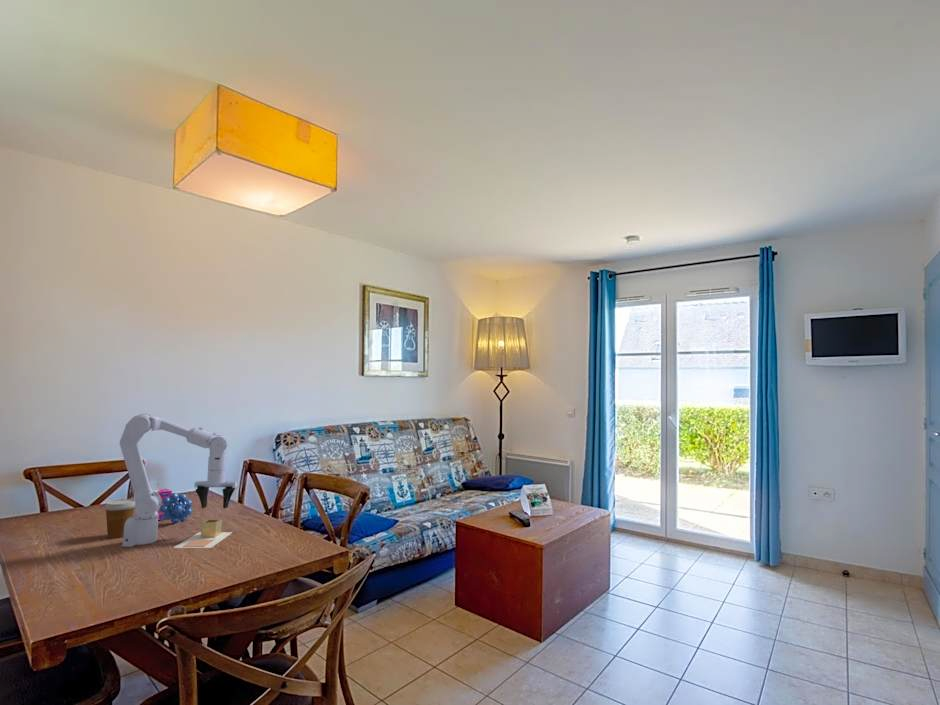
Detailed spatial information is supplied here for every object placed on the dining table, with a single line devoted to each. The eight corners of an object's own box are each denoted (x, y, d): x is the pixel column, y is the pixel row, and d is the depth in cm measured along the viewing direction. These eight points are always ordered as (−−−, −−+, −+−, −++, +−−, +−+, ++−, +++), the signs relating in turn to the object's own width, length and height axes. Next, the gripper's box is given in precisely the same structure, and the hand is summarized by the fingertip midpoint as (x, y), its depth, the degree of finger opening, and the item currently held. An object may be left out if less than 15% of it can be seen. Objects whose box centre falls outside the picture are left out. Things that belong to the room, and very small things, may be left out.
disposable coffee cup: (95, 537, 177) (98, 503, 178) (121, 530, 186) (123, 497, 187) (115, 540, 174) (118, 505, 175) (140, 533, 183) (143, 500, 184)
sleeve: (200, 537, 178) (201, 522, 178) (207, 533, 183) (207, 519, 183) (215, 537, 178) (216, 523, 178) (221, 533, 183) (222, 519, 183)
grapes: (160, 528, 191) (163, 496, 191) (157, 524, 196) (159, 493, 196) (195, 523, 198) (196, 492, 199) (190, 519, 203) (192, 489, 204)
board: (173, 550, 166) (174, 536, 166) (198, 534, 184) (199, 522, 184) (210, 550, 167) (211, 536, 167) (232, 534, 185) (233, 522, 185)
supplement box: (154, 521, 199) (156, 492, 200) (148, 519, 203) (150, 490, 204) (170, 519, 204) (172, 490, 205) (164, 516, 207) (166, 488, 208)
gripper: (241, 467, 187) (239, 505, 186) (202, 467, 187) (200, 504, 186) (233, 471, 180) (231, 509, 179) (192, 470, 180) (190, 509, 179)
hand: (214, 507), depth 182 cm, fingers open, 7 cm apart
